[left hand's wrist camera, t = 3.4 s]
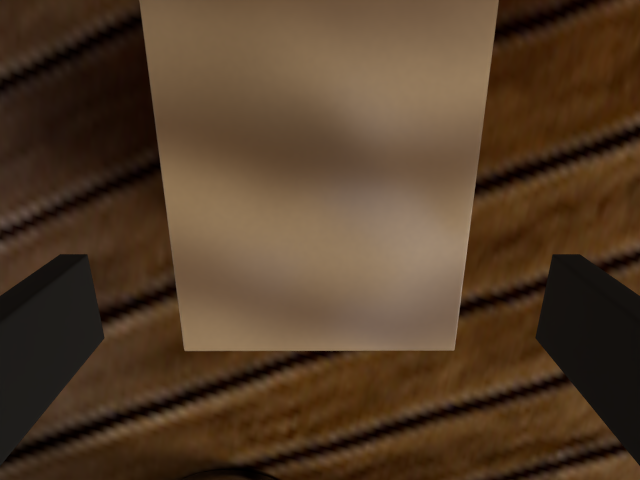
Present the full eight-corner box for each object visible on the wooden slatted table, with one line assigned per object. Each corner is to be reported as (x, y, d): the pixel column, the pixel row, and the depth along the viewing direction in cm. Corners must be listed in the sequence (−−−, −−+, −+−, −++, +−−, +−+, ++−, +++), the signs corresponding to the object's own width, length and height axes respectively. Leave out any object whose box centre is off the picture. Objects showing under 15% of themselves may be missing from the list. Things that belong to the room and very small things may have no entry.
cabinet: (213, -44, 24) (119, -152, 13) (424, -44, 24) (518, -151, 13) (234, 247, 30) (184, 351, 19) (403, 247, 30) (454, 350, 19)
